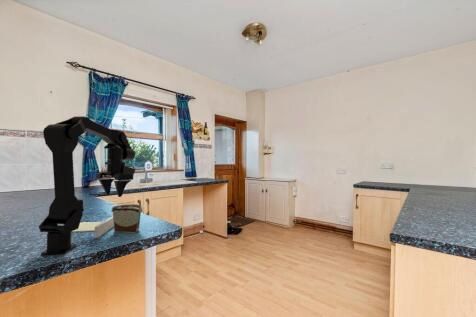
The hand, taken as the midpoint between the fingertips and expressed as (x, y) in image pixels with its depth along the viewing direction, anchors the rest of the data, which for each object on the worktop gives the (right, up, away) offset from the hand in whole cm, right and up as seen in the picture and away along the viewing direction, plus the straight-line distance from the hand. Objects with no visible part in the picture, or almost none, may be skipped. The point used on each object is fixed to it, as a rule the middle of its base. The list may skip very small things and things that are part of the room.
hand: (113, 195), depth 91 cm
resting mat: (-10, -13, -2) cm, 16 cm away
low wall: (0, -13, -4) cm, 14 cm away
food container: (+9, -13, -4) cm, 17 cm away
